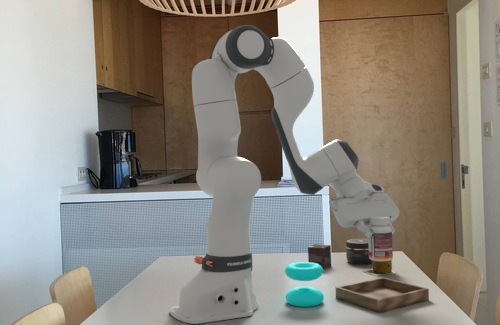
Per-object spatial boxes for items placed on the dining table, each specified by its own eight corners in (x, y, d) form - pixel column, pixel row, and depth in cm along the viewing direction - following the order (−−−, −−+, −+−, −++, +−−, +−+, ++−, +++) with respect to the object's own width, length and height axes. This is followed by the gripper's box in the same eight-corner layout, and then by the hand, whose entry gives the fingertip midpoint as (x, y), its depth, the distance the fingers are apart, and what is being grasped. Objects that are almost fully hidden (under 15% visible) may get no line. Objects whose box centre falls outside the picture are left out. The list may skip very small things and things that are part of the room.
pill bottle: (397, 259, 139) (396, 216, 139) (381, 263, 136) (380, 219, 135) (380, 256, 144) (379, 214, 144) (363, 259, 141) (362, 217, 140)
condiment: (397, 273, 169) (396, 235, 168) (376, 276, 165) (375, 238, 165) (383, 268, 175) (382, 232, 175) (362, 271, 172) (361, 235, 172)
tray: (379, 312, 128) (379, 300, 128) (335, 298, 142) (335, 287, 142) (428, 300, 138) (428, 288, 138) (383, 287, 152) (383, 277, 151)
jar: (363, 258, 193) (363, 237, 193) (381, 263, 184) (380, 241, 183) (340, 261, 189) (340, 240, 189) (357, 266, 180) (356, 244, 179)
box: (331, 266, 181) (331, 245, 181) (324, 269, 176) (324, 248, 176) (315, 264, 184) (315, 243, 184) (308, 268, 179) (307, 246, 179)
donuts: (301, 271, 132) (277, 264, 140) (302, 310, 132) (278, 301, 140) (330, 265, 137) (306, 259, 146) (331, 303, 138) (307, 295, 146)
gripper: (331, 190, 140) (358, 231, 132) (386, 185, 151) (414, 223, 142) (321, 206, 144) (346, 246, 136) (375, 200, 154) (402, 237, 146)
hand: (381, 234), depth 139 cm, fingers closed on pill bottle, 6 cm apart
